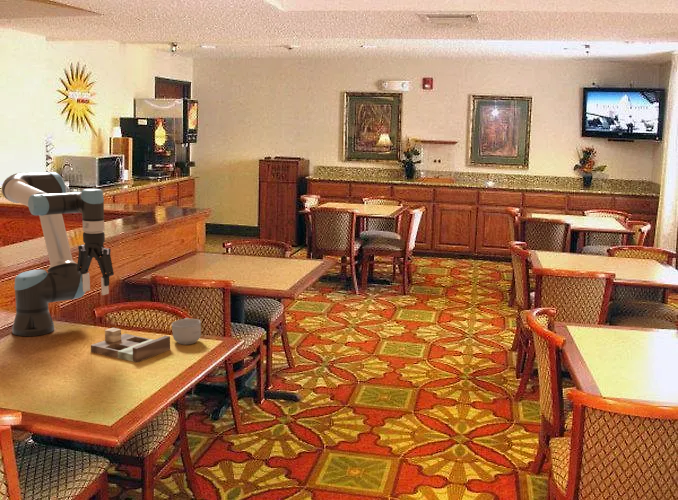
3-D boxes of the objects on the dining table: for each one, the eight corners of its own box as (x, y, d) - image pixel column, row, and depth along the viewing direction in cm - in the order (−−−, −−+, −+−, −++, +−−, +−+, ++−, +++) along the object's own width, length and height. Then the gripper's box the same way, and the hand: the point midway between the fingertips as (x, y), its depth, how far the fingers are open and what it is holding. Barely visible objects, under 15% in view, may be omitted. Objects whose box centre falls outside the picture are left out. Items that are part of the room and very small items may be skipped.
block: (105, 340, 276) (104, 330, 275) (113, 337, 279) (112, 327, 278) (113, 342, 274) (112, 331, 273) (121, 339, 277) (120, 329, 276)
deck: (90, 351, 271) (90, 338, 270) (125, 339, 285) (124, 327, 284) (137, 362, 260) (136, 348, 260) (170, 349, 275) (169, 336, 274)
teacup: (197, 347, 279) (197, 326, 277) (168, 346, 279) (168, 325, 278) (205, 336, 293) (205, 316, 291) (177, 335, 293) (177, 315, 291)
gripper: (64, 230, 275) (66, 290, 279) (107, 236, 265) (109, 298, 269) (80, 227, 281) (82, 286, 285) (123, 233, 271) (125, 294, 275)
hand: (95, 292), depth 277 cm, fingers open, 9 cm apart
